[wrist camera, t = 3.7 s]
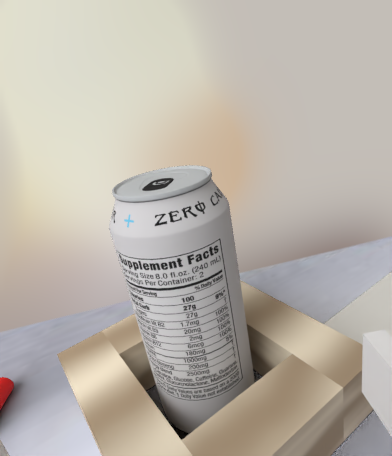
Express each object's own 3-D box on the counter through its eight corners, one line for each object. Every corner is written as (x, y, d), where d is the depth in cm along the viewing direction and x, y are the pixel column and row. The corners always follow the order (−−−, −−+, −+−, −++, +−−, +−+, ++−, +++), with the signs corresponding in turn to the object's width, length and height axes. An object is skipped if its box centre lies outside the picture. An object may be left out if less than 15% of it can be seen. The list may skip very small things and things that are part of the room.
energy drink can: (262, 368, 24) (234, 157, 18) (251, 454, 19) (206, 195, 13) (181, 362, 26) (132, 169, 20) (151, 438, 20) (73, 206, 15)
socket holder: (376, 405, 20) (379, 353, 18) (175, 621, 13) (153, 567, 12) (225, 306, 31) (218, 268, 29) (75, 397, 24) (57, 354, 23)
